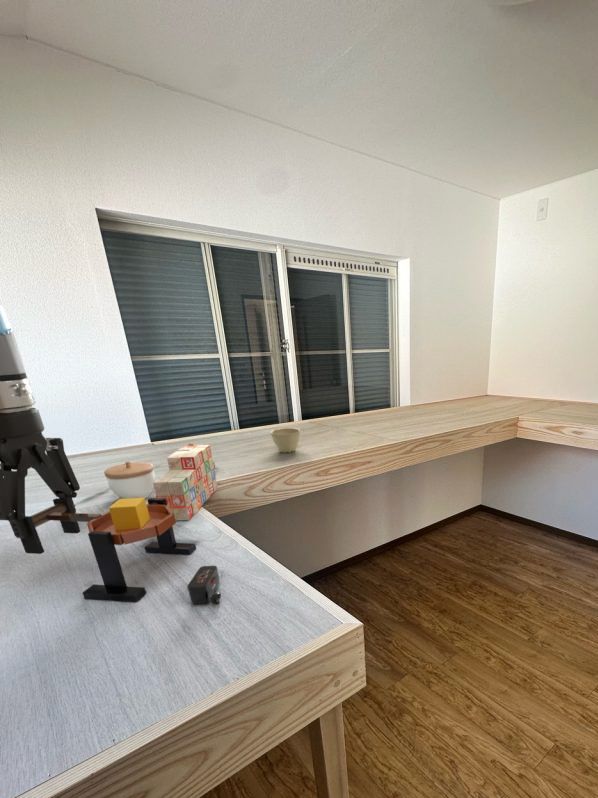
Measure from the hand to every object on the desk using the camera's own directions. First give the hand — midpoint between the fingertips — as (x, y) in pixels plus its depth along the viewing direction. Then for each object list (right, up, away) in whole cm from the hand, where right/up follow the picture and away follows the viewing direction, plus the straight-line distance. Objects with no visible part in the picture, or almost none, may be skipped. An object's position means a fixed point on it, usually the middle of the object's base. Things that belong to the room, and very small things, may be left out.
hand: (54, 541), depth 73 cm
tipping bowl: (+10, +3, -2) cm, 11 cm away
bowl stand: (+16, -5, 0) cm, 17 cm away
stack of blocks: (+11, +7, +30) cm, 32 cm away
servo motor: (+30, -8, -7) cm, 32 cm away
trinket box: (-6, +9, +34) cm, 36 cm away
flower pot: (+23, +27, +75) cm, 83 cm away
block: (+16, +3, -3) cm, 17 cm away
